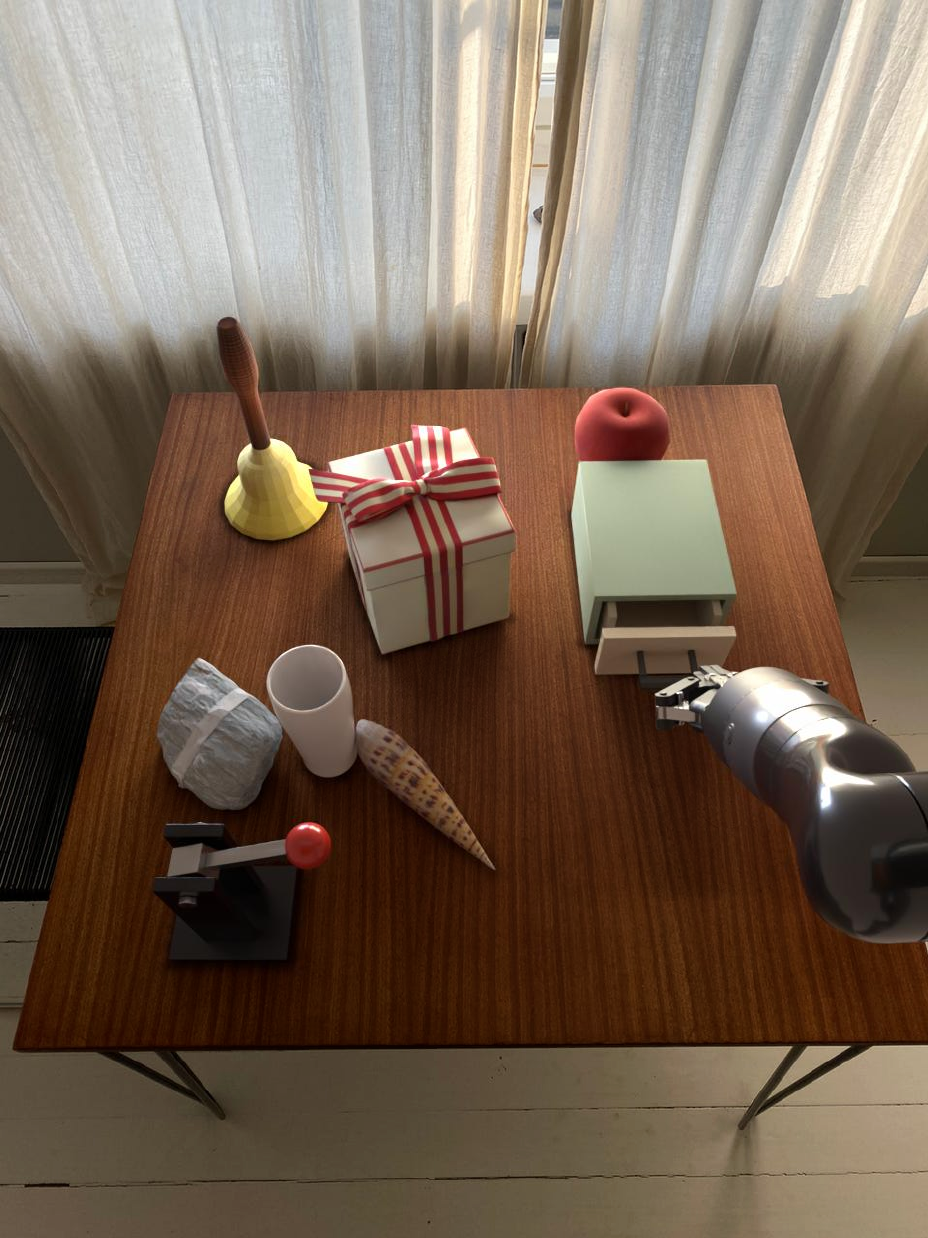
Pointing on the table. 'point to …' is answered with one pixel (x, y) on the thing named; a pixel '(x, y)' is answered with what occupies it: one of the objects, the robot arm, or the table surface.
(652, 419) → the apple
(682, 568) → the cabinet
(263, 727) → the decorative stone
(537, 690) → the table surface
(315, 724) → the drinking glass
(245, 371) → the handbell
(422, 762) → the seashell
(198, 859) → the lever
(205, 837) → the bracket
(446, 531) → the gift box
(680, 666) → the drawer
